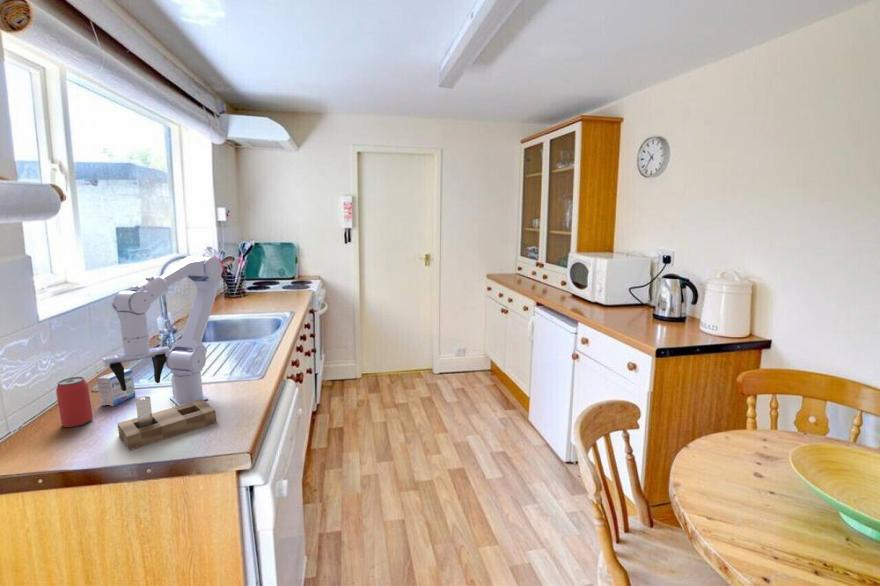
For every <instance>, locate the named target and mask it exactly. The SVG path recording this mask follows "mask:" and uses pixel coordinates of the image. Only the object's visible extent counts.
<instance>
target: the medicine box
mask: <svg viewBox="0 0 880 586" xmlns="http://www.w3.org/2000/svg"><path fill="white" fill-rule="evenodd" d="M133 374H134V373H133V370H132V369H128V368H126V369H125V368H124V379H125V384H126V391H123V390H122V389H121V386H120V383H119V381H118V379H117V377H116V375H115V374H114V372H113V371H112V372H110V373H107V374H105V375H101V376H100V377H97V378H96V380H97V387H98V393H99V400H100V405H101V404H102V405H101V406H105V405H110V406H109V407H115V406H117V405H116V404H118V403H120V404H122V403H123V401H124V402H126V401H128V400H130V399H132V398H134V397H135V396H136V390H135V381H134V375H133ZM129 398H130V399H129ZM127 399H128V400H127ZM125 400H126V401H125ZM121 402H122V403H121ZM114 405H115V406H114ZM118 405H119V404H118Z"/></svg>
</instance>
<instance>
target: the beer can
mask: <svg viewBox="0 0 880 586" xmlns="http://www.w3.org/2000/svg"><path fill="white" fill-rule="evenodd" d="M56 383H57V387H56V392H55V393H56V398H57V400H56V401H57V405H58V411H59V412H58V413H59V416H60V417H59V418H60V422H61V425H62V426H63V427H65V428H74V427H73V426H76V427H79V425H80V426H83V425H85V423H86V424H87V422H88V423H89V422H91V421H92V420H93V418H94V417H93V409H92V403H91V402H92V401H91V398H90V396H91V395H90V390H89V385H88V382H87V381H86V379H85V377H84V376H72V377H68V378H63V379H61V380H59V381H58V382H56ZM82 424H83V425H82Z"/></svg>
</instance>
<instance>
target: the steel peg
mask: <svg viewBox="0 0 880 586" xmlns="http://www.w3.org/2000/svg"><path fill="white" fill-rule="evenodd" d="M151 402H152V401H151V397H150V396H148V395H145V396H140V397H137V398H136V399H135V404H136V412H137V418H138V422H139V428H143V427H146V426H149V425H153V418H152V413H153V410H152V403H151Z"/></svg>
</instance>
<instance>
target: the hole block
mask: <svg viewBox="0 0 880 586" xmlns="http://www.w3.org/2000/svg"><path fill="white" fill-rule="evenodd" d="M152 418H153V425H149V426H146V427H143V428H139V422H138V417H136V418H131V419H128V420H123V421H121V422H117V423H116V424H117V431H118V437H119V438H120V439H121V441H122V442H123V444H124V445H125V447H126V448H127V449H128V451H131V450H134V449H138V448H140V447H141V448H142V447H144V446H146V445H150V444H153V443H157V442H159V441H163V440H165V439H168V438H172V437H175V436H177V435H181V434H184V433H188V432H191V431H194V430H196V429H199V428H203V427H206V426H209V425H212V423H213V424H215V422H216V423H217V414H216V409H215V408H213V407H212V406H211V405H209V404H208V403H207V402H206V400H204V401H203V400H198V401H195V402H191V403H188V404H184V405H180V406H178V405H177V406H175V407H174V406H173V407H171V408H167V409H164V410H160V411H155V412H152Z"/></svg>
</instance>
